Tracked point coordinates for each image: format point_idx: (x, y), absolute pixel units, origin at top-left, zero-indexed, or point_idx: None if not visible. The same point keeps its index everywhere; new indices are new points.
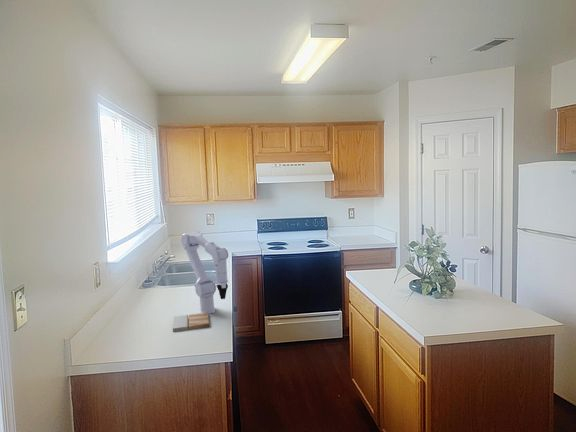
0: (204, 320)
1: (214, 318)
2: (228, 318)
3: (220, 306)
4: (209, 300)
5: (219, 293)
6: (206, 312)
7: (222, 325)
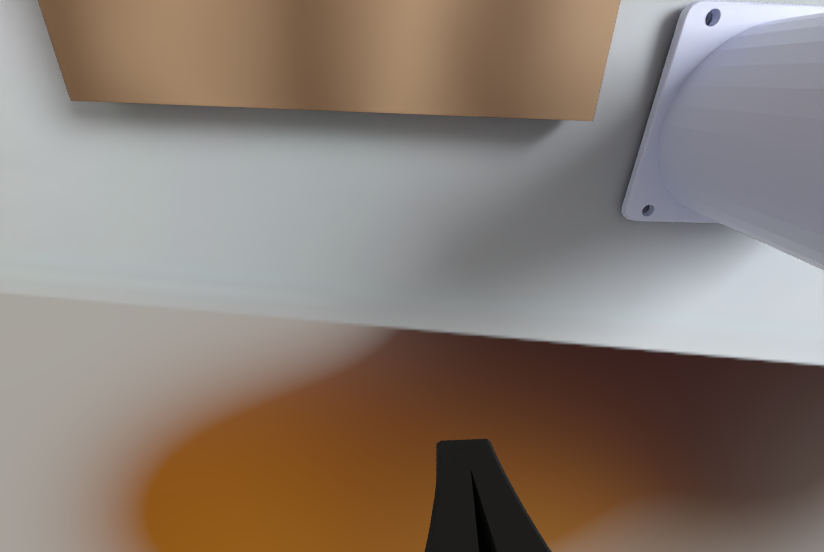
0: (224, 40)
1: (429, 189)
2: (370, 320)
3: (805, 285)
4: (802, 206)
5: (501, 546)
6: (591, 103)
7: (166, 250)
